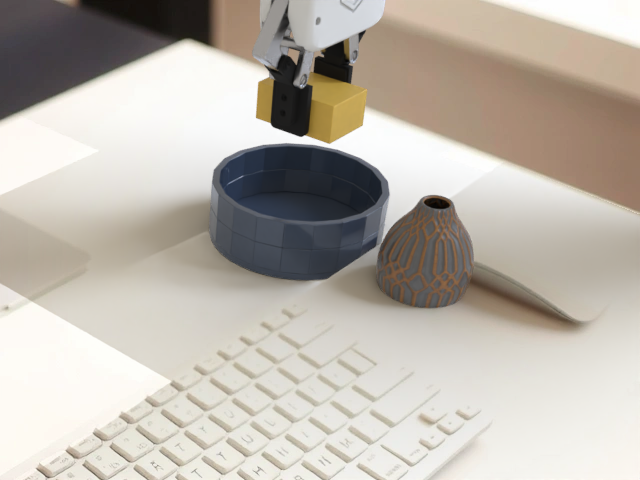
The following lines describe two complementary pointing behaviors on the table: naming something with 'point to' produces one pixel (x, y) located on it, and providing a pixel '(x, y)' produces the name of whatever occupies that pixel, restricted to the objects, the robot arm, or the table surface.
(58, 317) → the table surface
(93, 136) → the table surface
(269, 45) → the robot arm
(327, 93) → the yellow block
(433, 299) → the vase
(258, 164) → the bowl
